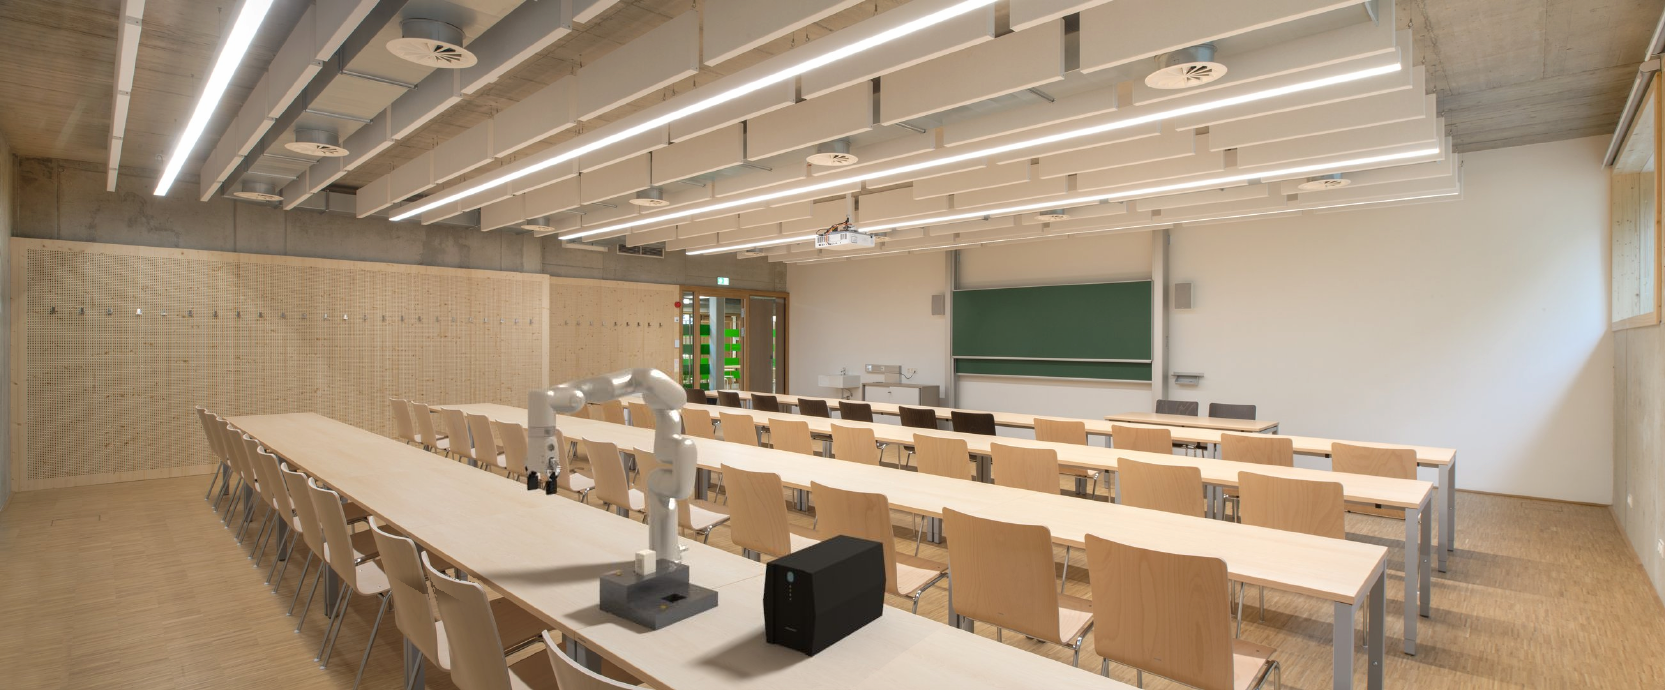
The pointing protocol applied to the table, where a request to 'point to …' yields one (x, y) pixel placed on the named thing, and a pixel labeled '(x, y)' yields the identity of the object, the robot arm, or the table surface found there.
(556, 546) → the table surface
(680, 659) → the table surface
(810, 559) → the uninterruptible power supply
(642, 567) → the plug
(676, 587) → the panel
